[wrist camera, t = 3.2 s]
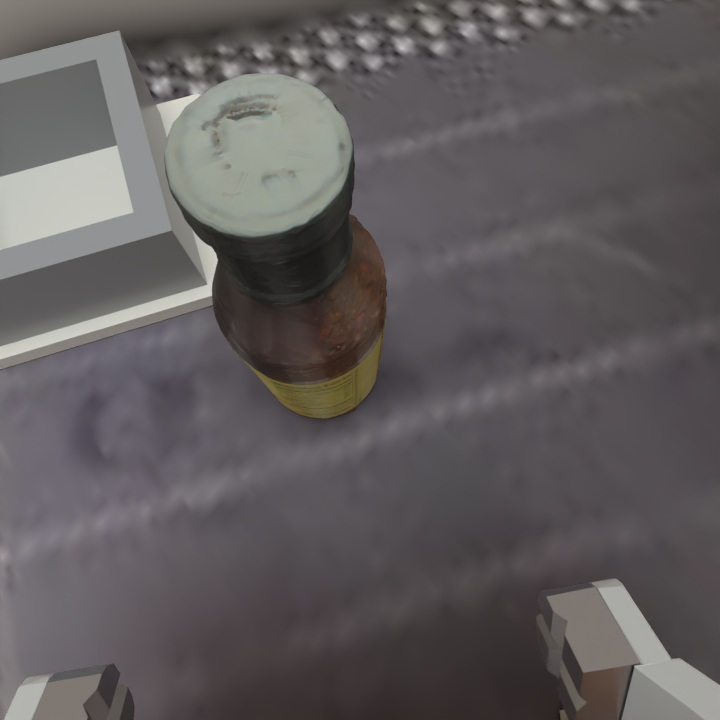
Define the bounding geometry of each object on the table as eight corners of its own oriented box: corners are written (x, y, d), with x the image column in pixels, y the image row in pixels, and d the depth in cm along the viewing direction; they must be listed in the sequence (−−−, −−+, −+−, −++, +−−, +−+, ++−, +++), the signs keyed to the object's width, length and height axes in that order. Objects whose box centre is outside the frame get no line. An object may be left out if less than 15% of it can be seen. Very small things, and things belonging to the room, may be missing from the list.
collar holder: (204, 107, 35) (167, 7, 28) (261, 290, 31) (233, 227, 25) (-72, 180, 34) (-183, 94, 27) (-47, 383, 30) (-169, 344, 23)
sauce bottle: (290, 306, 31) (183, -21, 12) (391, 335, 31) (445, 42, 12) (251, 410, 29) (55, 219, 10) (358, 443, 29) (358, 306, 10)
